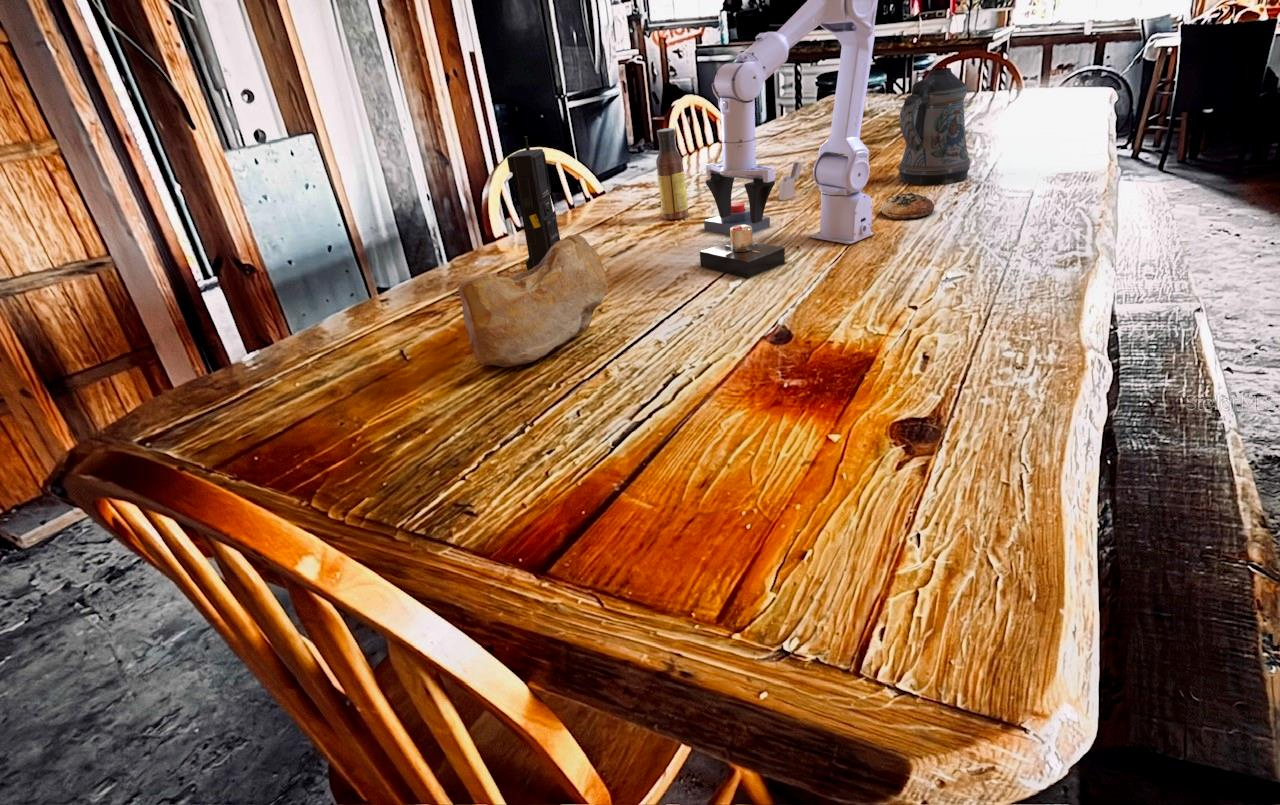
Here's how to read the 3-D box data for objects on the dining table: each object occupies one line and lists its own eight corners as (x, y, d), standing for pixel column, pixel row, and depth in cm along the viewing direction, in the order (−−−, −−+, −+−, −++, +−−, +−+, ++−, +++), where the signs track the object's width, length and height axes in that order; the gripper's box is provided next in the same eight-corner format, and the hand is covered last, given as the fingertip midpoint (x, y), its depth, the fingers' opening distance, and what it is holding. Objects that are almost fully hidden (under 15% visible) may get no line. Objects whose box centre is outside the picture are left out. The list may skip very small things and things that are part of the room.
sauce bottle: (688, 213, 170) (683, 125, 160) (687, 219, 164) (682, 129, 155) (661, 215, 171) (654, 128, 161) (660, 221, 165) (652, 132, 156)
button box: (770, 227, 152) (769, 208, 150) (741, 237, 147) (741, 218, 145) (732, 220, 160) (731, 202, 158) (704, 230, 155) (703, 212, 153)
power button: (748, 211, 151) (748, 203, 151) (736, 215, 150) (736, 206, 149) (735, 209, 154) (735, 201, 153) (724, 213, 152) (724, 205, 151)
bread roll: (946, 212, 148) (945, 188, 145) (903, 229, 145) (901, 205, 143) (910, 204, 157) (908, 182, 155) (868, 220, 155) (866, 198, 153)
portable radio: (555, 278, 135) (533, 141, 124) (526, 278, 137) (501, 143, 125) (566, 265, 142) (547, 134, 130) (538, 266, 143) (516, 136, 132)
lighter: (784, 200, 171) (784, 166, 168) (778, 199, 173) (778, 166, 169) (802, 194, 175) (802, 161, 172) (796, 193, 176) (797, 160, 173)
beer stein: (974, 171, 179) (987, 62, 167) (959, 189, 165) (972, 71, 153) (906, 170, 187) (914, 67, 175) (887, 187, 173) (894, 76, 161)
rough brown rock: (568, 311, 121) (548, 224, 114) (627, 326, 108) (608, 230, 102) (446, 361, 109) (416, 268, 103) (496, 384, 97) (466, 280, 90)
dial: (741, 244, 132) (740, 221, 130) (757, 248, 129) (756, 224, 127) (726, 250, 130) (725, 227, 128) (742, 253, 127) (741, 230, 125)
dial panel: (784, 263, 130) (784, 246, 128) (748, 278, 124) (747, 261, 123) (736, 253, 138) (736, 237, 137) (700, 266, 133) (699, 250, 131)
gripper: (692, 142, 124) (696, 219, 130) (754, 146, 114) (756, 230, 120) (720, 135, 127) (723, 210, 134) (783, 139, 117) (783, 220, 124)
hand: (740, 219), depth 127 cm, fingers open, 7 cm apart
